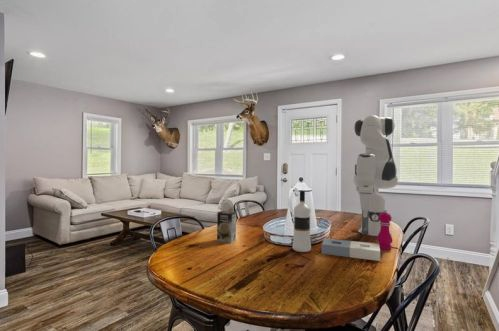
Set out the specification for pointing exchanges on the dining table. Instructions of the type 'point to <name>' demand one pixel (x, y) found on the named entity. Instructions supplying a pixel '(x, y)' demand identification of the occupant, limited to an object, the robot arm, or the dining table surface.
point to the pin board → (351, 249)
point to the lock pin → (365, 223)
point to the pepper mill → (384, 231)
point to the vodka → (302, 226)
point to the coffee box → (226, 226)
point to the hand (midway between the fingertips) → (365, 216)
